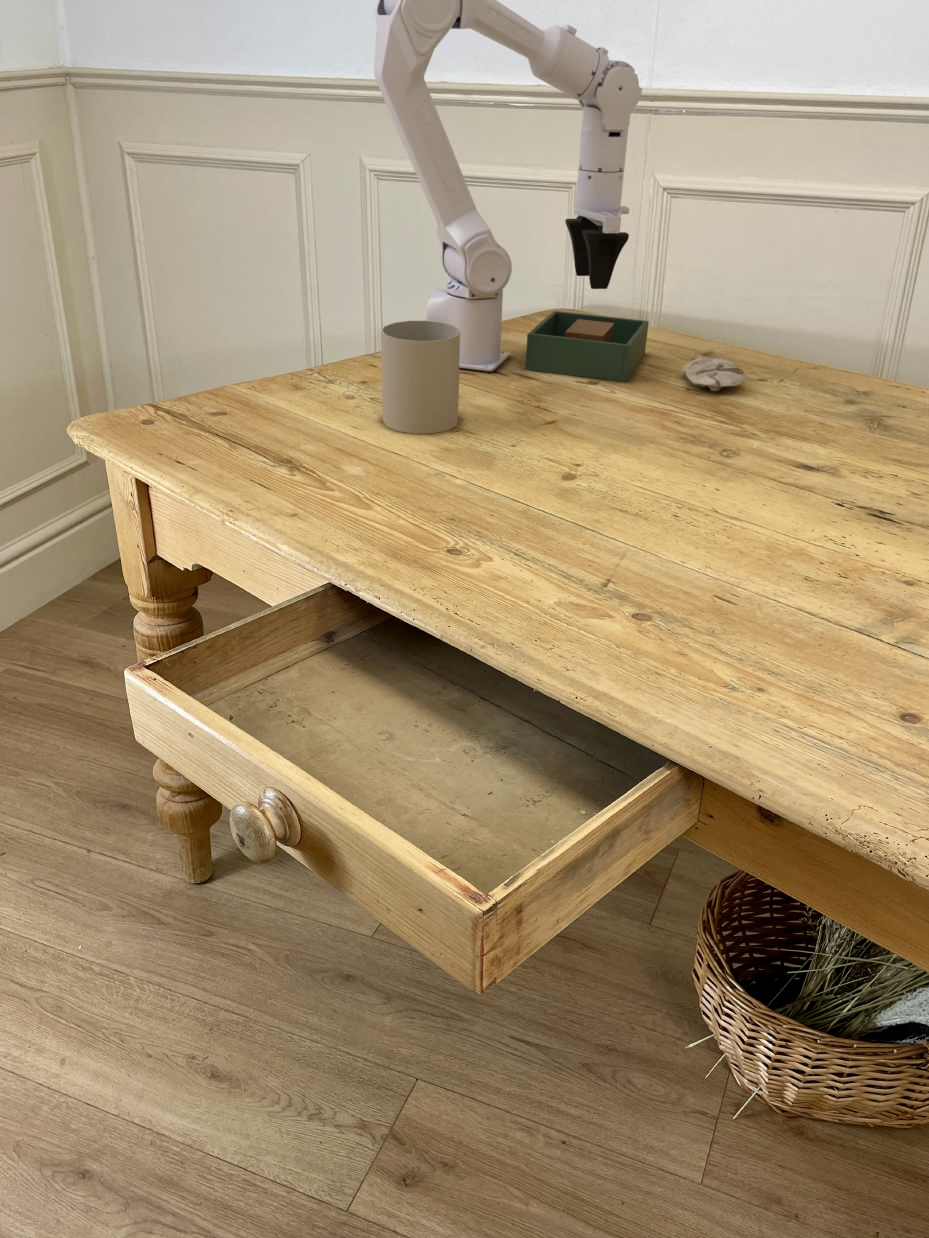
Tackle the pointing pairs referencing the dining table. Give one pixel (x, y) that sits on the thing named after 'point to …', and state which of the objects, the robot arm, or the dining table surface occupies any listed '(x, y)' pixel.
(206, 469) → the dining table surface
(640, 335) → the bin
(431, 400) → the cup
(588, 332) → the block
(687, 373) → the stone
